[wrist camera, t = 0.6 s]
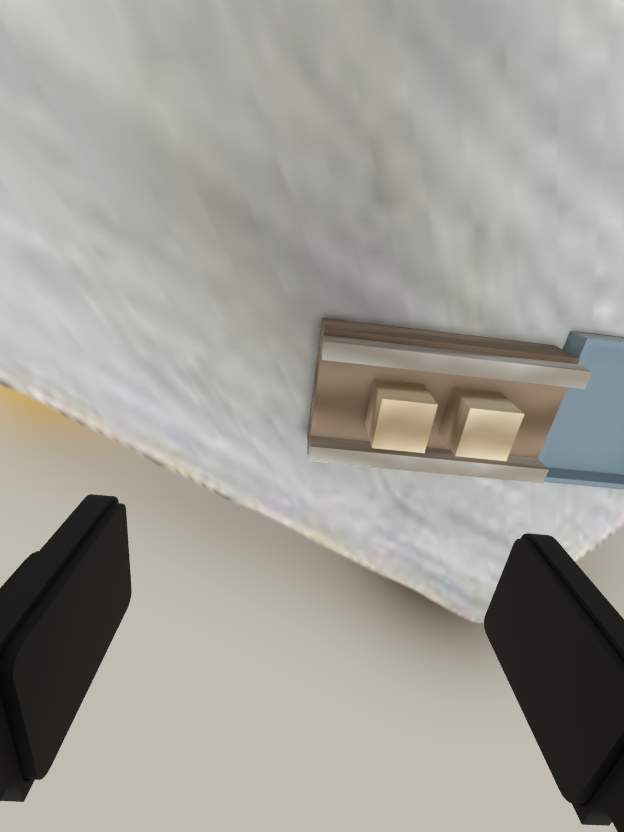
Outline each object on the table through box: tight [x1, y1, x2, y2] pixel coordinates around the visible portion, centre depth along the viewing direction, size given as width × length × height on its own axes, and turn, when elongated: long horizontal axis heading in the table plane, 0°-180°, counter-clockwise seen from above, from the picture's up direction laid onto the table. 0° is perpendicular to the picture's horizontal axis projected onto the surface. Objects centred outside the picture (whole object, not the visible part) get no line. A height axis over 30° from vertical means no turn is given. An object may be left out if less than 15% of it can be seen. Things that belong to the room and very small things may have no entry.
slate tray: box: [538, 331, 624, 489], centre depth 40 cm, size 15×13×2 cm
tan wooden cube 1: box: [365, 379, 438, 453], centre depth 34 cm, size 4×4×4 cm
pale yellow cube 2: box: [439, 387, 524, 461], centre depth 35 cm, size 4×4×4 cm
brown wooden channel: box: [308, 318, 592, 483], centre depth 37 cm, size 12×22×6 cm, turn 83°
